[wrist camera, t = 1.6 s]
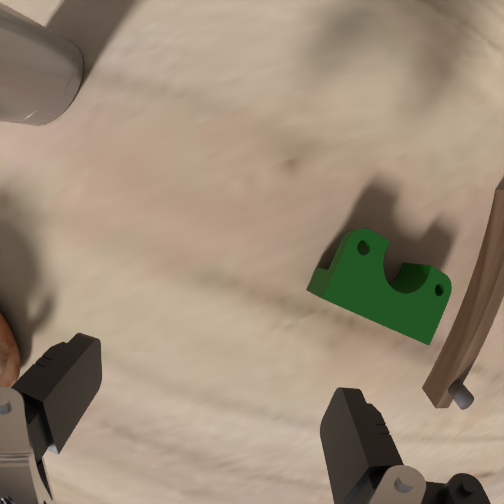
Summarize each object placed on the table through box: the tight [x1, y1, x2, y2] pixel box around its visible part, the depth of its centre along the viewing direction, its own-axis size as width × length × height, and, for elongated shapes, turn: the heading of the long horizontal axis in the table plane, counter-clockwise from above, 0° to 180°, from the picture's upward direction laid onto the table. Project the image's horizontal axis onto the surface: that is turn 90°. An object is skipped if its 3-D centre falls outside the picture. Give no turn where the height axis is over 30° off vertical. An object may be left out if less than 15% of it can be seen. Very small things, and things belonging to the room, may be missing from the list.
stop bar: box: [422, 189, 504, 410], centre depth 25 cm, size 2×24×7 cm, turn 167°
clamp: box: [306, 228, 452, 345], centre depth 25 cm, size 12×6×9 cm, turn 59°
